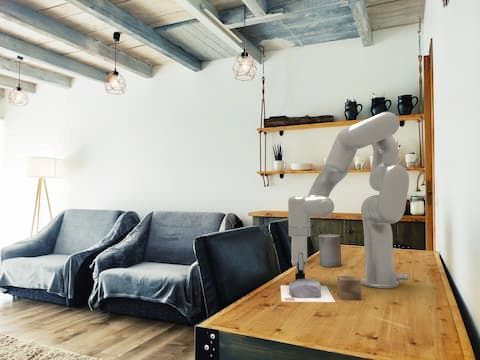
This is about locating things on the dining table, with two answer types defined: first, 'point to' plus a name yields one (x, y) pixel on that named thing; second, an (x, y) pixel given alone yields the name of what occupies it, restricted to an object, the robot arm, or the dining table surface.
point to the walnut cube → (349, 287)
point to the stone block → (305, 288)
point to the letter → (288, 297)
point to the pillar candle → (330, 250)
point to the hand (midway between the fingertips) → (300, 284)
